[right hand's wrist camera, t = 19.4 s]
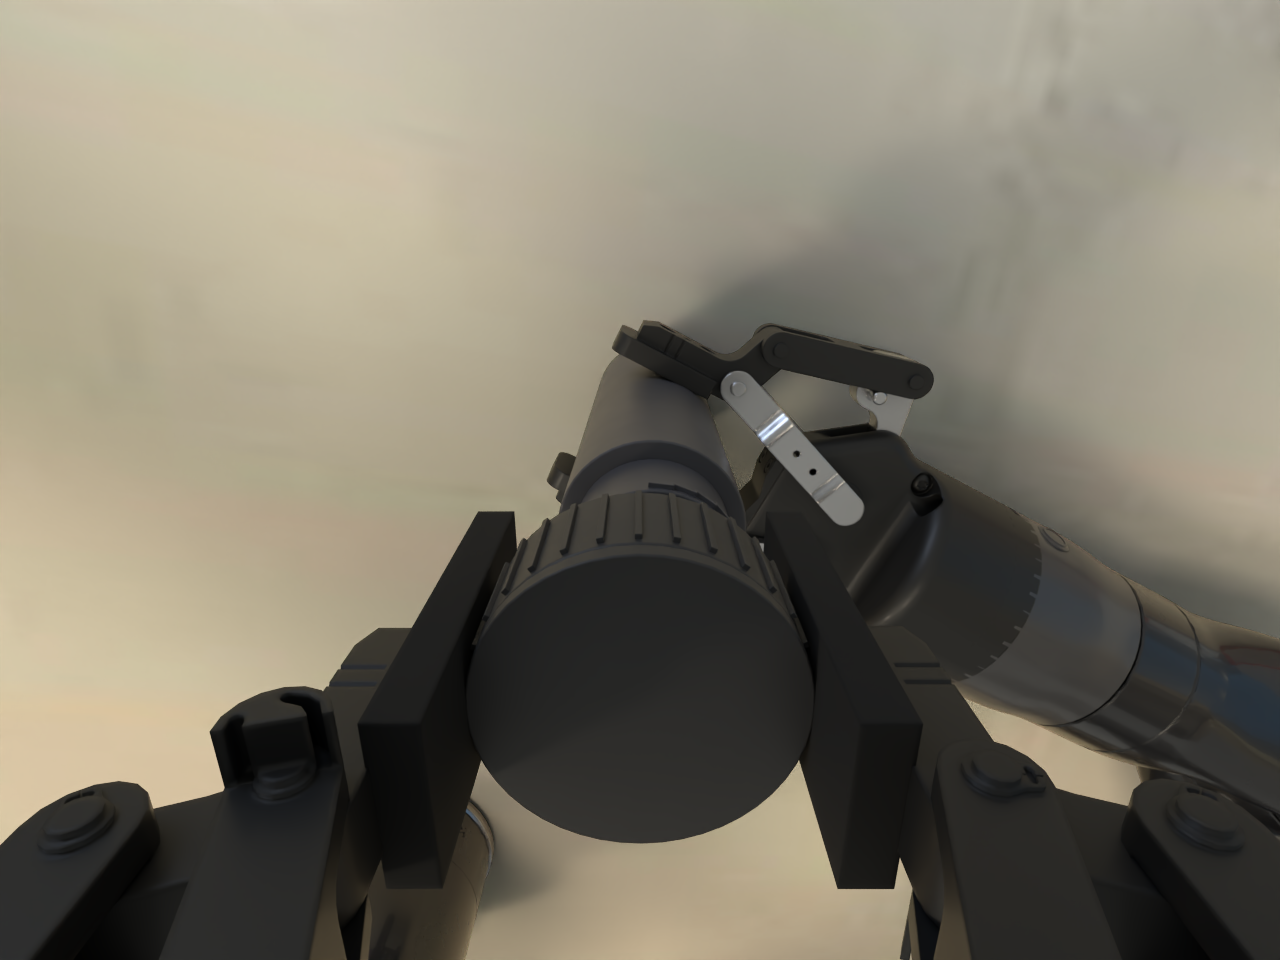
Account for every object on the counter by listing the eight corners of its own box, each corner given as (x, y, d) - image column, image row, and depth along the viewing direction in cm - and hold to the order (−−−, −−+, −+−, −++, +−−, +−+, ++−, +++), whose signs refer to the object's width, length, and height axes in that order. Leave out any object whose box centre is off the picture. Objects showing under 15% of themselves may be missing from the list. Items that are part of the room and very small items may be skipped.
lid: (432, 579, 12) (384, 659, 10) (699, 430, 11) (713, 480, 9) (591, 784, 14) (583, 891, 12) (837, 668, 13) (879, 763, 11)
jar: (695, 449, 32) (744, 670, 16) (595, 440, 32) (541, 653, 16) (707, 349, 31) (775, 480, 14) (602, 339, 31) (550, 460, 14)
